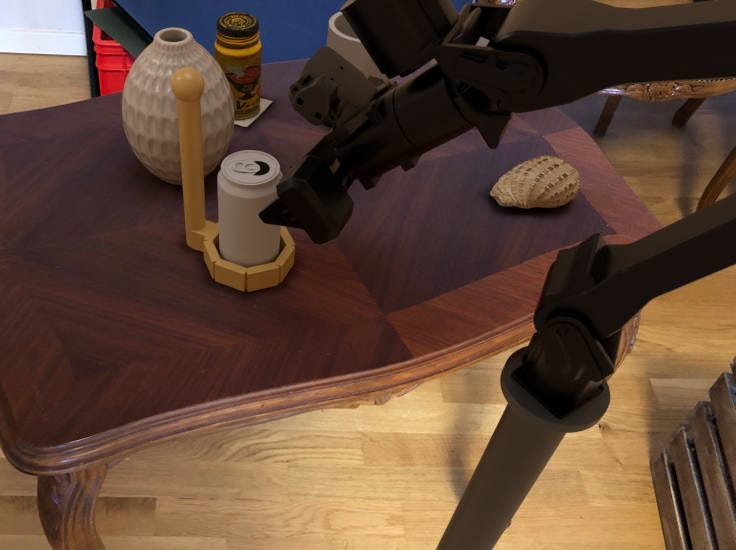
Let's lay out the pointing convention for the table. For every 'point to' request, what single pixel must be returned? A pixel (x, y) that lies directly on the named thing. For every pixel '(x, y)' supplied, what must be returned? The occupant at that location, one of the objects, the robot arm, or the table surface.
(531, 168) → the seashell
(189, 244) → the holder
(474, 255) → the table surface
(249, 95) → the condiment
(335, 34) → the cup
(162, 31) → the vase
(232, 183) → the beverage can
